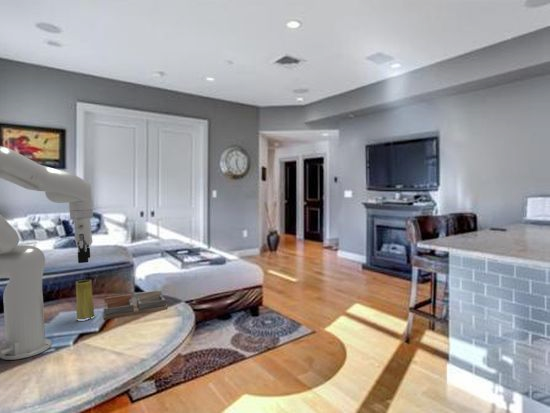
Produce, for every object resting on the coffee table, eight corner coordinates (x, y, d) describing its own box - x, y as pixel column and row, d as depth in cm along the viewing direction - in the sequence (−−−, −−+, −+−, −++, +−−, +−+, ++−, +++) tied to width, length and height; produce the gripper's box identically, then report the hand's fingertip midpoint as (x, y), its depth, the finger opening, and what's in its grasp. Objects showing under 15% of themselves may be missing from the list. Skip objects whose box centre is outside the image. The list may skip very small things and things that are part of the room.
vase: (98, 316, 135) (96, 279, 135) (88, 321, 129) (86, 283, 129) (83, 316, 136) (81, 279, 136) (72, 321, 130) (70, 283, 130)
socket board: (167, 309, 141) (166, 295, 141) (103, 319, 131) (103, 305, 131) (162, 301, 152) (162, 289, 152) (103, 311, 141) (102, 297, 141)
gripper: (91, 215, 125) (94, 263, 126) (94, 213, 141) (97, 255, 142) (66, 217, 122) (70, 265, 123) (72, 214, 138) (75, 257, 139)
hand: (84, 260), depth 132 cm, fingers open, 9 cm apart
